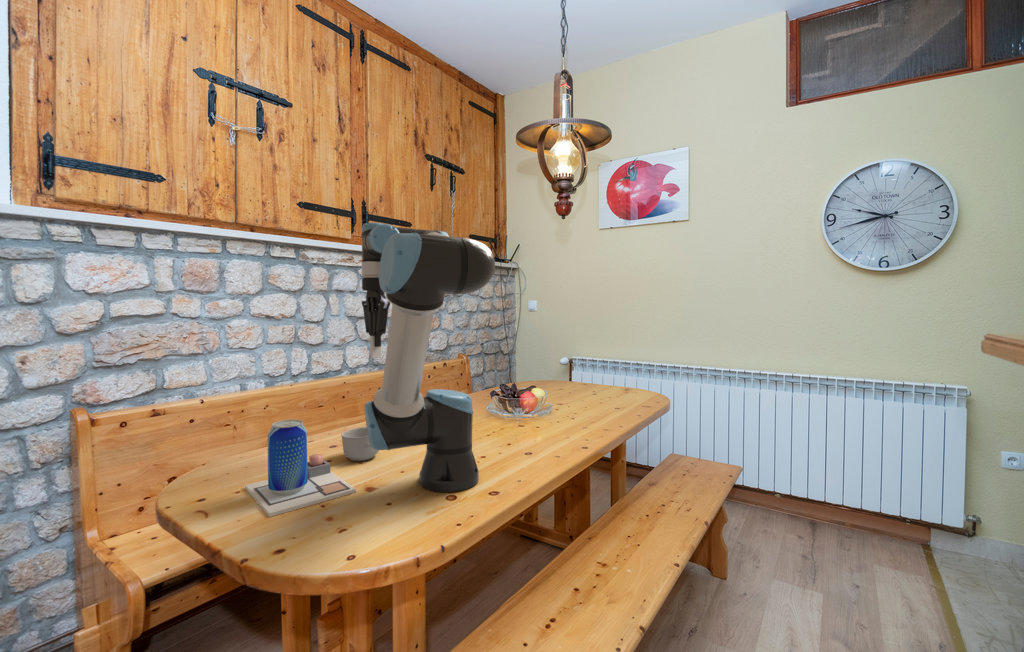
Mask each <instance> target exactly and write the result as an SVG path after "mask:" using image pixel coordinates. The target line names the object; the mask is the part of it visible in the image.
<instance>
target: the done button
mask: <svg viewBox="0 0 1024 652" xmlns="http://www.w3.org/2000/svg"><path fill="white" fill-rule="evenodd" d="M308 459H309V460H308V462H309V466H310V467H315V466H319V465H323V459H324V457H323V454H321V453H317V454H316V453H315V454H311V455H309V457H308Z"/></svg>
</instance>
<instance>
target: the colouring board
mask: <svg viewBox="0 0 1024 652" xmlns="http://www.w3.org/2000/svg"><path fill="white" fill-rule="evenodd" d="M307 472H308V482H307V484H306V485H305V486H304V488H303V489H302V490H301V491H299V492H297V493H294V494H290V495H275V494H273V493H272V491H271V490H270V489H269V488H268V479H266V480H265V479H264V480H261V481H256V482H252V483H249V484H245V485H244V489H245V490H246V492H247V493H248V494H249V495H250V497H252V498H253V500H255V502H256V503H257V504H258V506H259V507H260V508H261V509H262V510H263V511H264V512H265V514H266V515H267V516H268V518H271V517H275V516H278V515H281V514H285V513H289V512H292V511H295V510H298V509H302V508H303V509H304V508H306V507H310V506H313V505H317V504H319V503H323V502H327V501H330V500H333V499H334V500H335V499H337V498H340V497H341V498H342V497H344V496H347V495H351V494H355V493H356V492H357V489H356V488H355V487H354V486H352V485H351V484H349V482H346V481H345V480H344V479H343V478H341V477H339V476H338V475H337V474H335V473H334V472H333V471H331V463H330V462H328V461H327V460H326V459H324V458H323V465H319V466H315V467H310V466H309V461H307Z"/></svg>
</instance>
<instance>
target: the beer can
mask: <svg viewBox="0 0 1024 652" xmlns="http://www.w3.org/2000/svg"><path fill="white" fill-rule="evenodd" d="M303 423H304V422H303V420H301V419H284V420H278V421H276V422H272V424H271V427H270V430H269V431H268V432H267V480H268V488H269V489H270V490H271V491H272V493H273V494H275V495H290V494H294V493H297V492H299V491H301V490H302V489H303V488H304V486H305V485H306V484H307V482H308V472H307V462H308V430H307V428H306V427H305V425H304V424H303Z"/></svg>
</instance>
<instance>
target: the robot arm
mask: <svg viewBox="0 0 1024 652" xmlns="http://www.w3.org/2000/svg"><path fill="white" fill-rule="evenodd" d="M360 236H361V256H362V257H361V258H362V259H361V276H362V279H361V289H362V291H366V296H365V300H362V301H361V305H362V308H363V315H364V316H363V317H364V327H365V333H367V334H368V336H369V341H370V342H369V351H370V353H369V357H370V359H381V358H382V337H383V335H385V334H386V331H387V325H388V324H387V323H388V314H389V308H390V306H391V305H392V306H391V314H390V322H389V329H388V336H387V345H386V351H385V352H386V353H385V362H384V368H383V369H384V370H383V376H382V384H381V387H380V388H378V389H377V391H376V392H375V394H374V396H373V400H369V401H367V402H366V403H364V417H365V418H364V419H365V425H366V426H365V427H367V432H368V438H369V442H370V445H371V447H372V448H373V449H374V450H379V451H391V450H397V449H403V448H410V447H416V446H417V447H418V446H424V445H426V451H425V452H426V453H425V455H424V459H423V461H422V466H421V468H420V471H419V484H420V486H421V487H423V488H424V489H426V490H428V491H432V492H433V491H434V492H440V493H453V492H459V491H464V490H467V489H470V488H472V487H474V486H475V485H477V483H478V482H479V479H480V478H479V468H478V464H477V462H476V459H475V455H474V451H473V414H474V411H473V400H472V399H473V398H472V397H471V395H469V394H468V393H466V392H462V391H457V390H453V389H441V388H439V389H437V388H435V389H429V390H427V391H426V393H425V396H423V394H422V392H420V391H421V386H422V381H423V374H424V371H425V370H424V369H425V363H426V357H427V353H428V348H429V341H430V335H431V331H432V324H433V318H434V314H435V311H437V310H439V309H440V308H442V306H443V304H444V299H445V296H446V295H466V294H471V293H474V292H477V291H479V290H481V289H482V288H484V287H485V286H486V285H488V283H489V282H490V281H491V280H492V278H493V276H494V272H495V270H496V260H495V256H494V254H493V252H492V250H491V249H490V248H489V246H487V245H486V244H484V243H483V242H481V241H478V240H476V239H472V238H468V237H463V236H462V237H460V236H459V237H458V236H456V237H455V236H449V234H448V233H447V232H446V231H440V230H435V229H433V230H432V229H431V230H430V229H420V228H418V229H417V228H411V227H409V228H408V227H401V226H399V227H398V226H394V225H392V224H389V223H381V222H366V223H363V224H362V227H361V235H360ZM386 299H387V300H388V301H387V300H386Z"/></svg>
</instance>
